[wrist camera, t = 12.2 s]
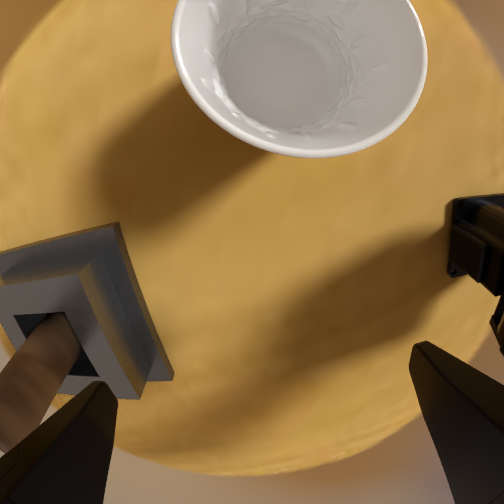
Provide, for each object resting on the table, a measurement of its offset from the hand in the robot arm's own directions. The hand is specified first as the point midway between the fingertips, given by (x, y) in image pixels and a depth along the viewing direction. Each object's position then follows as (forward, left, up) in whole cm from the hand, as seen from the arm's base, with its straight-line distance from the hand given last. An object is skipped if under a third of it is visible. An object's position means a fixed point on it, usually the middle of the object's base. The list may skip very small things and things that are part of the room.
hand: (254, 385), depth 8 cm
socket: (+16, +5, -13) cm, 21 cm away
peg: (+16, +5, -12) cm, 21 cm away
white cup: (-3, -9, -13) cm, 16 cm away
